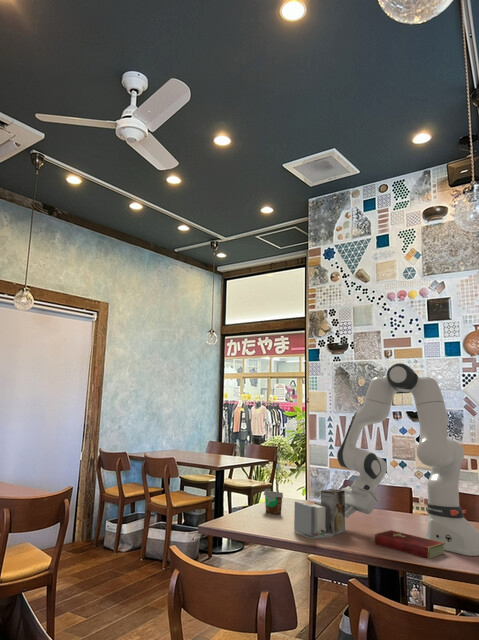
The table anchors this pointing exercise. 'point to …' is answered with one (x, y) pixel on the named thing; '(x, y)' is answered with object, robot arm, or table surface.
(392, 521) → the table surface
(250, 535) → the table surface
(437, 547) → the hardcover book
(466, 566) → the table surface
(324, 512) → the block
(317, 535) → the gauge housing
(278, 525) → the table surface
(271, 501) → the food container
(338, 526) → the coffee box
